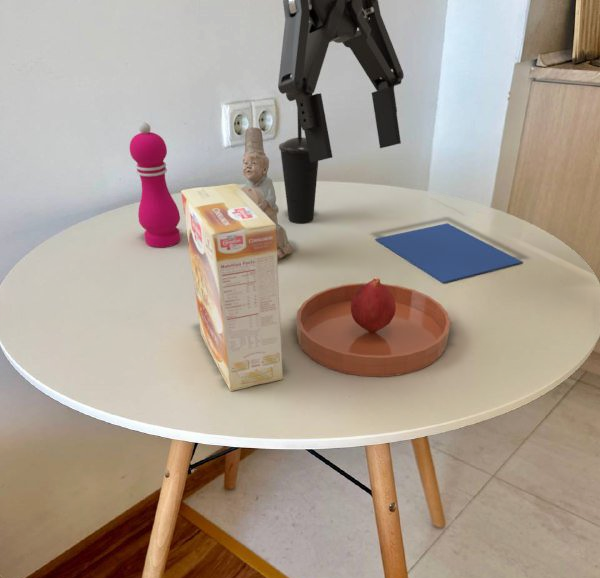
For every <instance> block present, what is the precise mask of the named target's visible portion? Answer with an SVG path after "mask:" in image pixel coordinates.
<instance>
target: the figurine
mask: <svg viewBox="0 0 600 578" xmlns="http://www.w3.org/2000/svg"><path fill="white" fill-rule="evenodd" d="M242 164H243V168H242V175H243V176H244V177H245V178H246V181H245V185H244V186H242V187H240V189H241V190H242V191H243V192H244V193H245V194H246V195H247V196H248V197H249V198H250V199H251V200H252V201H253V202H254V203H255V204H256V205H257V206H258V207H259V208H260V209H261V210H262V211H263V212H264V213H265V214H266V215H267V216H268V217H269V218H270V219H271V220H272V221H273V222H274V223H275V224H276V242H277V260H279V259H282V258H283V257H285V256H286V255H290V254H292V253H293V246H292V244H291V243H289V242H290V241H289V239H288V236H287V231H286V229H285V228H284V227H283V226H282V225H280V224H279V222H278V214H279V213H280V210H279V209H280V208H279V206H278V205H277V195H276V190H275V186H274V183H273V180H272V179H271V178H270V177H268V172H269V167H270V166H269V165H270V159H269V157H268V156H267V154H266V153H265V149H264V139H263V133H262V129H261V128H259V127H248V128H246V129H245V131H244V154H243V158H242Z"/></svg>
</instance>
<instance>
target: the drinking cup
mask: <svg viewBox="0 0 600 578" xmlns="http://www.w3.org/2000/svg"><path fill="white" fill-rule="evenodd" d="M296 111H297V114H296V115H297V136H296V137H292V138H289V139H286V140H285V141H283V142H281V143H280V144H278V150H279V151H280V156H281V164H282V167H281V168H282V175H283V182H284V191H285V200H286V207H287V208H286V209H287V216H288V221H289V222H291V223H294V224H307V223H311V222H312V221H313V220H314V215H315V207H316V206H315V205H316V193H317V180H318V171H319V170H318V169H319V161H316V162H311V163H310V158H309V153H308V147H307V142H306V137H305V136H304V137H302V136H303V135H302V133H303V129H302V127H301V124H300V119H299V114H298V109H297V108H296Z"/></svg>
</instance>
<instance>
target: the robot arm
mask: <svg viewBox="0 0 600 578" xmlns="http://www.w3.org/2000/svg"><path fill="white" fill-rule="evenodd" d="M282 3H283V11H284V20H285V21H284V28H283V37H282V46H281V55H280V66H279V73H278V83H277V88H278V91H279V93H280V94H282V95H285V97H286V99H287V100H288V101H289V102H294V101H295V103H296V110H297V109H298V114H299V119H300V124H301V129H302V131H304V138H306V142H307V147H308V153H309V158H310V163H311V162H316V161H318V162H320V161H323V160H329V159H332V158H333V151H332V147H331V141H330V135H329V130H328V123H327V118H326V114H325V108H324V102H323V97H322V92H321V93H319V92H318V93H314V92H315V91H316V87H317V84H318V81H319V77H320V75H321V71H322V68H323V64H324V62H325V58H326V55H327V51H328V48H329V46H330V43H332V42H335V43H336V44H343V46H344V47H345V48H349V49H350V51H351V52H352V53H353V55H354V56H355V58H356V61H358V63H359V65H360V66H361V68H362V69H363V71H364V73H365V75H366V76H367V78H368V79H369V81H370V82H371V84H372V85H373V87H374V89H375V90H376V91H373V92H371V97H372V98H371V99H372V104H373V111H374V118H375V125H376V130H377V139H378V144H379V149H383V148H388V147H392V146H396V145H400V144H402V141H401V135H400V127H399V121H398V107H397V102H396V101H397V100H396V94H395V86H398V85H401V84H402V80H403V79H404V76H405V75H404V74H405V73H404V71H403V68H402V66H401V63H400V61H399V58H398V55H397V53H396V50H395V47H394V45H393V42H392V40H391V38H390V35H389V33H388V30H387V27H386V25H385V22H384V19H383V17H382V13H381V10H380V3H379V0H282Z"/></svg>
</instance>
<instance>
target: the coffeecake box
mask: <svg viewBox="0 0 600 578" xmlns="http://www.w3.org/2000/svg"><path fill="white" fill-rule="evenodd" d="M180 193H181V199H182V206H183V213H184V219H185V228H186V233H187V240H188V241H187V242H188V249H189V255H190V262H191V269H192V270H191V271H192V277H193V283H194V284H193V285H194V292H195V299H196V305H197V313H198V319H199V329H200V335H201V337H202V339H203V341H204V343H205V345H206V347H207V349H208V351H209V353H210V354H211V357H212V359H213V360H214V363H215V365H216V366H217V369H218V370H219V372H220V374H221V376H222V378H223V380H224V382H225V384H226V386H227V388H228V389H229V391H230V392H233V391H239V390H242V389H247V388H251V387H254V386H258V385H262V384H268V383H273V382H277V381H281V380H283V379H284V373H283V371H284V370H283V353H282V352H283V351H282V333H281V331H282V330H281V329H282V328H281V310H280V309H281V307H280V289H279V288H280V287H279V285H280V284H279V268H278V266H279V265H278V263H279V262H278V259H277V242H276V224H275V223H274V222H273V221H272V220H271V219H270V218H269V217H268V216H267V215H266V214H265V213H264V212H263V211H262V210H261V209H260V208H259V207H258V206H257V205H256V204H255V203H254V202H253V201H252V200H251V199H250V198H249V197H248V196H247V195H246V194H245V193H244V192H243V191H242V190H241V187H240V186H239V185H238V184H237V183H228V184H222V185H221V184H220V185H215V186H214V185H211V186H203V187H202V186H199V187H193V188H186V189H182V190H180Z"/></svg>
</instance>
